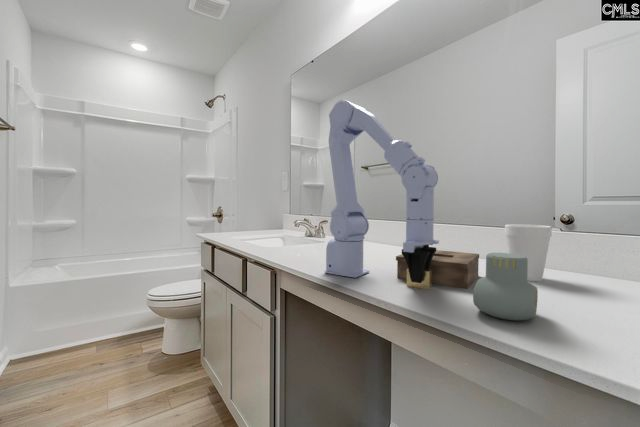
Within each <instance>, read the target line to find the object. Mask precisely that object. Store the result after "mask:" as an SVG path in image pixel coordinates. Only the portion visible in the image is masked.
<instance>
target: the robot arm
mask: <svg viewBox="0 0 640 427" xmlns="http://www.w3.org/2000/svg"><path fill="white" fill-rule="evenodd" d="M328 118H329V124H330V128H329V135H328V148H329V153H330V154H329V156H330V164H331V170H332V171H331V172H332V177H333V178H332V179H333V184H334V193H335V200H336V205H335V207H334V208H333V209H332V210H331V211H330V215H331V216H330V217H331V219H330V224H329V230H330V233H331V235H332V237H334V238H332V239H330V240H329V241H328V242H327V244H326V250H325V252H326V255H325V260H326V261H325V262H326V264H325V265H326V266H325V267H326V268H325V270H324V273H325V274H330V275H336V276H344V277H348V278H349V277H350V278H358V277H361V276H363V275H365V274H368V273H370V270H369V269H364V240H365V235H367V233H368V231H369V228H370V223H369V219H367V217H366V214H365V211H364V210H365V209H364V208H363V207H362V205H361V204H360V203H359V202H358V197H357V189H356V182H355V175H354V168H353V167H354V166H353V161H352V160H353V159H352V154H351V153H352V152H351V146H350V145H351V144H352V142H353V141H355V140H356V139H357V138H358V137H359V136H361V134H362V133H364V132H365V133H367V134H368V136H369V137H371V139H372V140H374V141H375V143H377V144H378V145H379V147H381V149H383V151H384V153H383V158H384V159H385V161H386V162H387V163H388V164H389V165H390V166H391V167H392V168H393V170H394V171H395V172H396V173H397V174H398V175H399V176H400V177H401V183H402V186H403V187H404V189H405V191H406V207H405V208H406V209H405V210H406V214H405V215H406V217H405V218H406V219H405V220H406V221H405V239H404V242H403V243H402V249H401V254H402V255H403V256H404V258H405V260H406V263H407V266H408V270H409V274H410V278H411V282H416V283H422V279H423V274H424V269H426V270H429V267H430V263H431V260H432V258H433V256H434V254H435V252H436V250H437V247H434V246H433V245H438V244H440V240H439V239H435V238H434V217H435V216H434V215H435V214H434V209H435V208H434V207H435V206H434V202H435V197H434V195H435V194H434V193H435V192H434V191H435V190H434V189H435V187H436V185H437V184H438V182H439V176H438V172H437V170H436V169H435V167H434V166H432V165H428V164H425V162H426V159H425V158H424V157H422V156H420V155H419V154H417V153H416V152H415V151H414V150H413V149H412V147H413V144H411V143H410V141H404V140H400V139H399V140H396V139H395V138H394V137H393V135H392V134H390V133H389V131H388V130H387V129H386V127H385V126H384V125H383V124H382V122H380V121H379V119H378V118H377V117H376V116H375V114H374V113H372V112H370V110H369V109H367V108H365V107H362V106H359V105H357V104H354V103H353V102H350V101H348V100H347V99H340V100H338V101H337V102H336V103H335V104H334V106H333V107H332V109H331V110H330V112H329V113H328Z"/></svg>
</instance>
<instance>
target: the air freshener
mask: <svg viewBox="0 0 640 427" xmlns="http://www.w3.org/2000/svg"><path fill="white" fill-rule="evenodd" d="M485 257H486V258H485V259H486V260H485V277H482V278H478V280H476V282H475V284H474V288H473V293H472V294H473V295H472V301H473V305H474V306H475V307H476V308H477V309H479V310H480V311H481V312H483V313H485V314H487V315H489V316H491V317H494V318H497V319H501V320H508V321H518V322H519V321H521V322H523V321H526V320H531V319H534V318H535V317H536V315H537V311H538V310H537V308H538V287H537V286H536V285H534V284H532V283H531V282H529V281H527V270H528V259H527V258H526V257H525V256H523V255H518V254H511V253H508V252H490V253H487V254H486V256H485Z"/></svg>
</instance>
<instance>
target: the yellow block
mask: <svg viewBox="0 0 640 427" xmlns="http://www.w3.org/2000/svg"><path fill="white" fill-rule="evenodd" d="M432 284H433V283H432V270H426V269H424V274H423V279H422V283H416V282H411V278H410V274H409V270H408V268H407V279H406V287H409V288H410V287H411V288H417V289H423V290H428V291H429V290H431V289H432V288H433V287H432Z"/></svg>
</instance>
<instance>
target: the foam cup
mask: <svg viewBox="0 0 640 427" xmlns="http://www.w3.org/2000/svg"><path fill="white" fill-rule="evenodd" d="M504 235H505V236H506V237H505V238H506V239H505V240H506V247H507V253H511V254H518V255H523V256H525V257H526V258H527V259H528V270H527V281H528V282H529V281H530V282H541V281H542V280H543V277H544V272H545V267H546V261H547V256H548V249H549V246H550V240H551V237H552V226H551V225H540V224H505V225H504Z"/></svg>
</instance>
